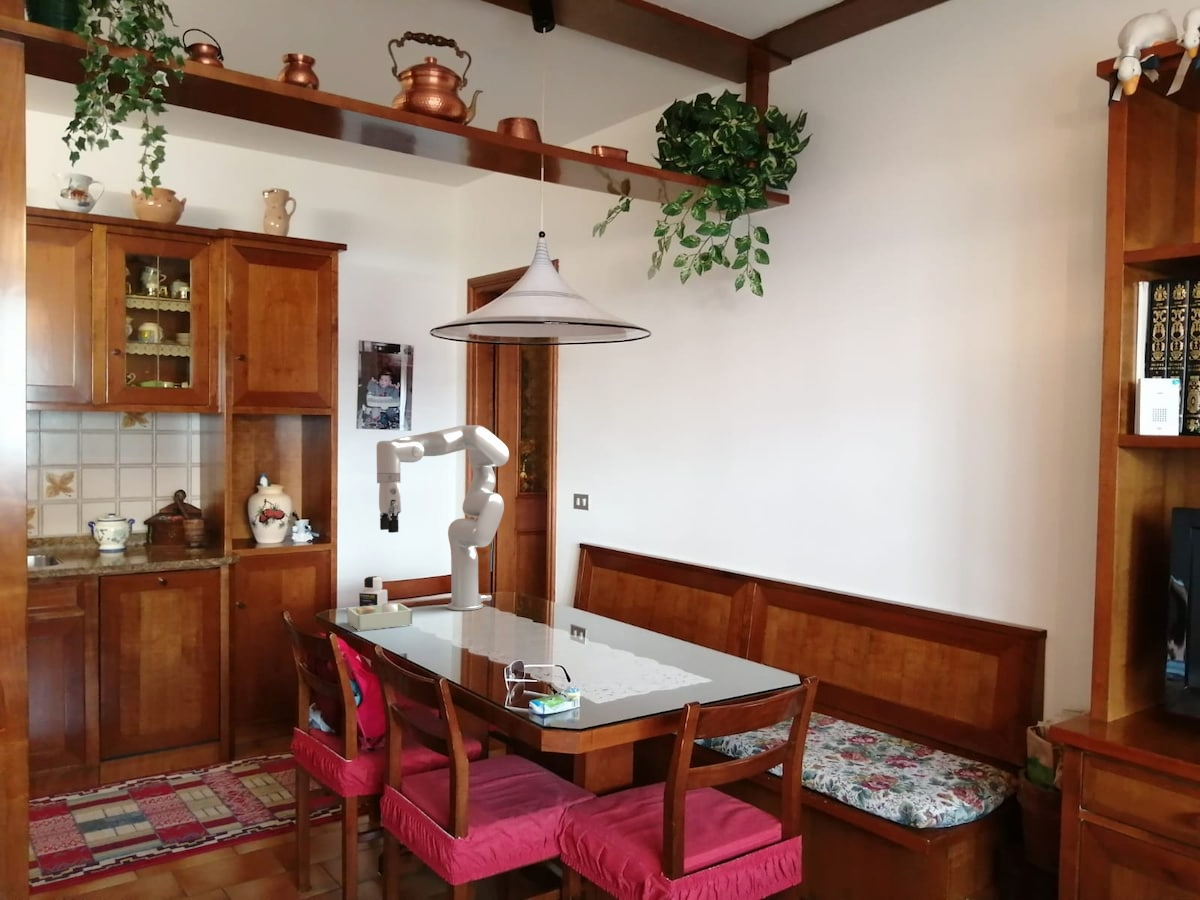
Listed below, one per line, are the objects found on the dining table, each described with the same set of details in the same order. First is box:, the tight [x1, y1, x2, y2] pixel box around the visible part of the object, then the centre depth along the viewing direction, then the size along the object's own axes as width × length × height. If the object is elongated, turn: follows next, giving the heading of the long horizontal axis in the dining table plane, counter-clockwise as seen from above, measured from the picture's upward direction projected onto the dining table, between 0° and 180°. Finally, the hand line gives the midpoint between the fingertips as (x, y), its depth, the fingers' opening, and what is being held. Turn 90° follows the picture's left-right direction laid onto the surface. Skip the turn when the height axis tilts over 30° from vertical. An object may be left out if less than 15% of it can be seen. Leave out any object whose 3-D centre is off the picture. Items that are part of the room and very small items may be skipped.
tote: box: [346, 602, 413, 632], centre depth 299 cm, size 17×14×5 cm
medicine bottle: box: [358, 575, 389, 607], centre depth 321 cm, size 7×7×12 cm
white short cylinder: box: [382, 602, 398, 613], centre depth 301 cm, size 5×5×6 cm
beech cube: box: [356, 606, 375, 615], centre depth 297 cm, size 5×5×5 cm
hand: (389, 530), depth 300 cm, fingers open, 9 cm apart
